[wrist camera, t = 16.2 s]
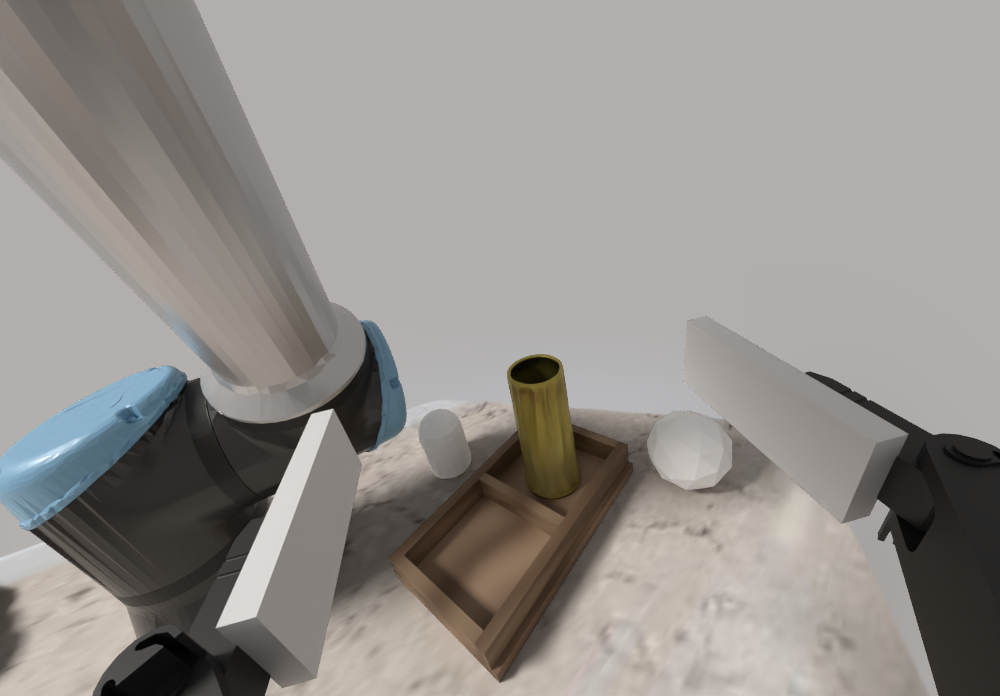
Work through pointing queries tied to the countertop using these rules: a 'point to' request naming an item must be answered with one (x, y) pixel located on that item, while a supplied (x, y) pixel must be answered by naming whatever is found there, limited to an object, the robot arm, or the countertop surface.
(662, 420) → the ball
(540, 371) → the vase
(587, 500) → the tray
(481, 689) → the countertop surface
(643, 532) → the countertop surface
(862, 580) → the countertop surface
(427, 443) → the white dome-topped block
